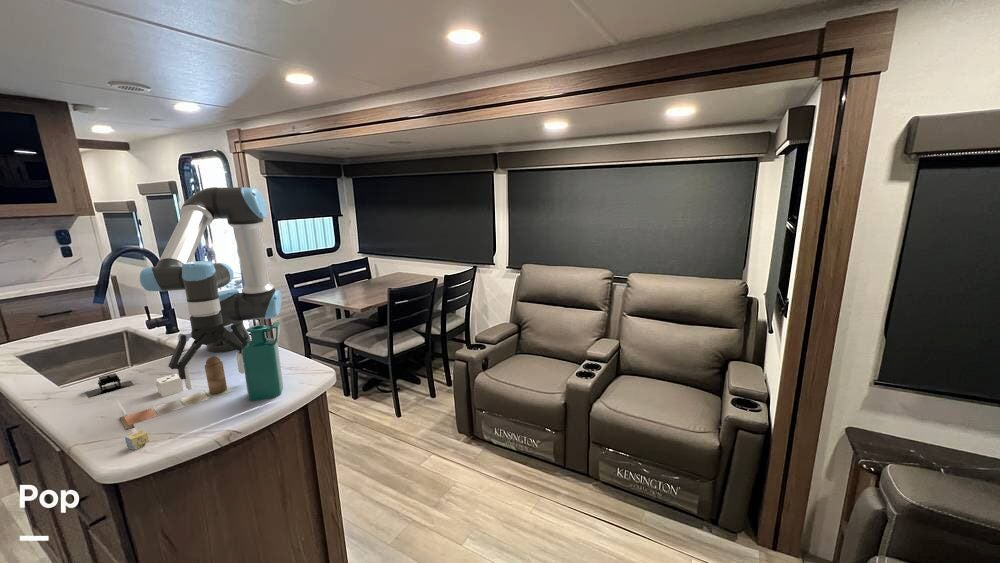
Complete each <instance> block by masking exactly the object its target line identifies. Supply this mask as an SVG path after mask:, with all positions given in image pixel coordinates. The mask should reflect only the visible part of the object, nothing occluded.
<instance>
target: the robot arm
mask: <svg viewBox="0 0 1000 563" xmlns="http://www.w3.org/2000/svg"><path fill="white" fill-rule="evenodd" d="M179 215H180V218H179V220H178V223H177V224H176V225H175V228H174V230H173V232H172V234H171V236H170V238H169V241H168V242H167V244H166V246H165V248H164V250H163V252H162V254H161V256H160V258H159V260H158V262H157V264H156V266H150V267H149V266H148V267H145V268H143V269H142V270H141V271H140V274H139V282H140V285H141V286H142V287H143V289H144V290H145V291H148V292H168V291H169V292H171V291H183V290H184V291H185V296H186V297H185V298H186V302H187V308H188V314H189V315H190V317H189V320H190V322H189V323H190V327H191V332H190V333H179V334H178V342H177V345H176V347H175V349H174V351H173V354H172V356H171V359H170V361H169V363H168V367H169V369H171V370H177V372H178V373H177V374H178V375H179V377H180V379H181V380H183V381H184V384H185V385H184V386H185V388H186V389H187V390H188V391H190V390H192V383H191V377H190V371H189V367H187V365H188V364H189V362H190V361H191V359H192V358H193V357H194V356H195V354H196V353H197V351H198V350H199V349H200V348H201V347H202V346H206V351H208V352H212V353H222V352H223V353H224V352H229V351H235V350H236V351H238V352H235V356H236V362H237V369H238V373H239V374H241V375H244V374H245V372H244V366H243V359H242V349H243V347H244V346H245V344H246V343H247V342H249V341H251V335H250V334H249V332H248V331H247V328H246V327H245V325H244V322H243V321H252V320H253V321H254V320H255V321H256V320H267V319H275V318H276V317H278V316H279V314H280V312H281V307H282V293H281V291H280V290H279V289H276V287H275V285H274V284H273V283H271V282H270V278H269V272H268V267H267V261H266V255H265V248H264V243H263V238H262V237H263V236H262V233H261V225H262V224H263V223H264V219H265V218H267V215H268V209H267V204H266V200H265V198H264V196H263V195H262V193H261V191H260V190H258V189H256V188H255V187H245V186H244V187H242V186H241V187H232V186H231V187H215V186H214V187H207V188H204V189H201V190H199V191H197V192H196V193H194V194H193V195H191V196H190V197H189V198H188V199H186V200H185V202H183V204H182V206H181V208H180V209H179ZM218 219H226V220H227V225H228V226H230V227H232V228H233V231H234V235H235V236H234V237H235V240H236V246H237V251H238V256H239V260H240V266H241V272H242V276H243V282H244V287H243V288H241V292H240V290H239V289H237V288H233V289H226V290H220V291H219V290H218V289H220V288H222V287H224V286H225V287H226V286H227V285H228V284H230V283H231V282H232V281H233V280H234V271H233V269H232V267H231V266H229V265H228V264H226V263H223V262H222V263H221V262H217V263H215V262H214V263H213V261H211V260H210V261H208V260H207V261H206V260H204V261H203V260H201V261H192V260H193V258H194V256H195V254H196V251H197V250H198V246H199V244H200V242H201V240H202V237H203V235H204V233H205V230H206V228H207V226H210V225H211V224H212V223H213V221H214V220H218ZM191 338H192V339H193V340H194V341H193V342H192V343H191V345H190V347H189V348H188V350H187V351H186V352H185V354H183V351H184V350H185V347H186V345H187V342H188V341H189V340H190V339H191ZM182 354H183V357H182V358H181V356H182ZM180 358H181V359H180Z"/></svg>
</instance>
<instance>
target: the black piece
mask: <svg viewBox="0 0 1000 563" xmlns="http://www.w3.org/2000/svg"><path fill="white" fill-rule="evenodd" d="M108 384H109V385H108ZM97 385H98V386H99V388H97V389H94V390H89V391H85V392H84V393H85V395H86V397H87V398H88V399H90V398H94V397H97V396H98V397H99V396H101V395H104V394H108V393H112V392H115V391H119V390H122V389H126V388H130V387H134V386H135V383H134V382H133V381H132V380H131V381H130V380H126V381H123V382H121V378H120V377H119V376H118V374H117V373H116V372H114V373H111V374H106V375H102V376H98V380H97ZM106 385H107V386H106Z"/></svg>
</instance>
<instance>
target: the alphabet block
mask: <svg viewBox="0 0 1000 563" xmlns="http://www.w3.org/2000/svg"><path fill="white" fill-rule="evenodd" d="M124 438H125V444H126V448H127V447H128V448H127V449H129V448H130V449H129V450H131V449H132V450H131V451H135V450H138V449H140V448H142V447H144V446H146V444H147V443H148V442H150V439H149V434H148V432H147V431H144V430H139V431H136V432H134V433H132V434H129V435H126V436H125V437H124ZM141 446H142V447H141ZM139 447H140V448H139ZM137 448H138V449H137ZM134 449H135V450H134Z"/></svg>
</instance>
